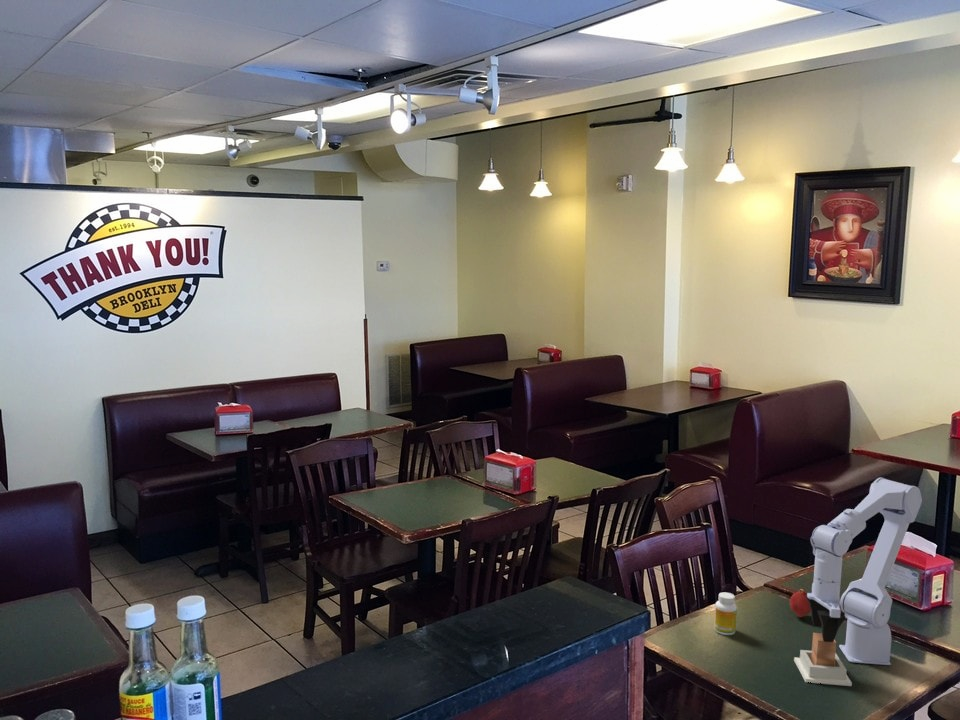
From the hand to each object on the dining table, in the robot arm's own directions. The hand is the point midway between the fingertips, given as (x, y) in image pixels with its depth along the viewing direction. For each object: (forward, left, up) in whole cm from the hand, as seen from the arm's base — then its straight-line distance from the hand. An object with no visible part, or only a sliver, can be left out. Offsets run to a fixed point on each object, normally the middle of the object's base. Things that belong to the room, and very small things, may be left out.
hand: (823, 633), depth 181 cm
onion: (-3, -29, -10) cm, 31 cm away
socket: (0, +1, -9) cm, 9 cm away
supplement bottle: (+19, -17, -10) cm, 27 cm away
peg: (0, +1, -9) cm, 9 cm away
